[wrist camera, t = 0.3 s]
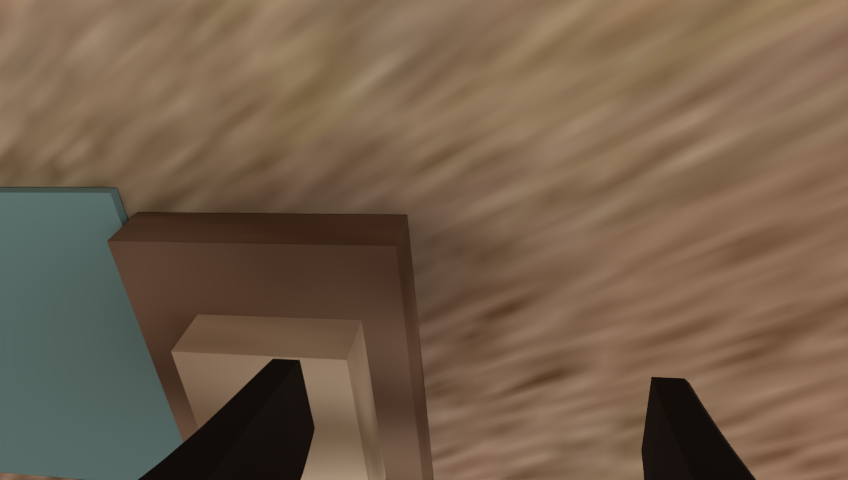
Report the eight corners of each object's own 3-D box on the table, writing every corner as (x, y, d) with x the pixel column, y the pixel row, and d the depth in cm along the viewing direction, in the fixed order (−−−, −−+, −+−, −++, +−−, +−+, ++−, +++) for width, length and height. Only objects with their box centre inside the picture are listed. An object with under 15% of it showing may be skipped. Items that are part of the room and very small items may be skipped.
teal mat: (221, 483, 32) (217, 490, 31) (3, 465, 34) (-3, 472, 33) (116, 187, 23) (110, 192, 23) (-164, 186, 25) (-174, 191, 25)
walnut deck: (434, 487, 29) (428, 527, 28) (226, 470, 31) (208, 507, 29) (407, 215, 22) (396, 246, 20) (137, 212, 24) (106, 241, 22)
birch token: (386, 477, 26) (375, 520, 25) (246, 466, 27) (226, 507, 26) (361, 320, 22) (346, 359, 21) (197, 314, 23) (170, 351, 22)
